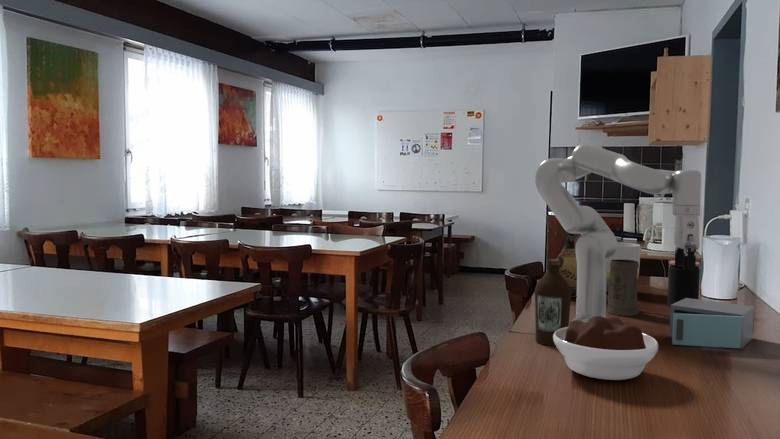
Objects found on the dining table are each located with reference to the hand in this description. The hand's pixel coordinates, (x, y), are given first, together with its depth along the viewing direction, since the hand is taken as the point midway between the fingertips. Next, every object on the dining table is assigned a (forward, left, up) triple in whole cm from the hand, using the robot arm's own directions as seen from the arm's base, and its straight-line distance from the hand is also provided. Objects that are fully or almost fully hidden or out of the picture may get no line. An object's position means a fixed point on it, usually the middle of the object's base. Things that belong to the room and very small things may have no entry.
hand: (684, 267), depth 183 cm
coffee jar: (+52, +15, -23) cm, 59 cm away
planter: (+66, +47, -23) cm, 84 cm away
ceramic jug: (+45, +59, -23) cm, 77 cm away
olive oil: (-28, +29, -23) cm, 46 cm away
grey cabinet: (+12, -5, -23) cm, 26 cm away
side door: (-2, -8, -22) cm, 24 cm away
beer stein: (+30, +29, -23) cm, 47 cm away
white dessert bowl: (-47, +5, -23) cm, 53 cm away
